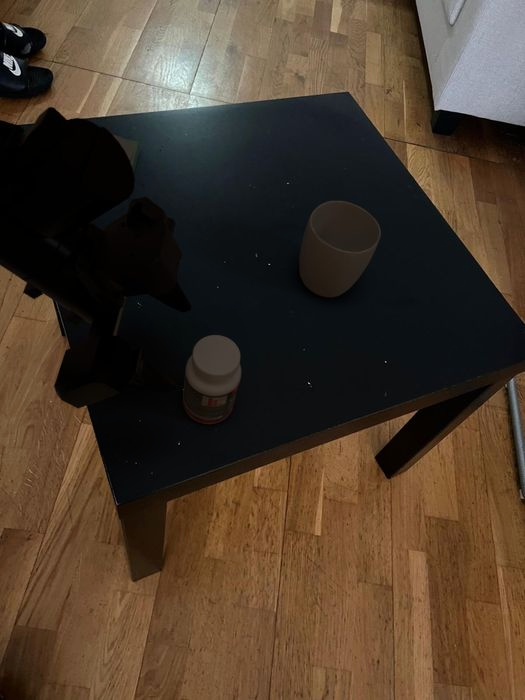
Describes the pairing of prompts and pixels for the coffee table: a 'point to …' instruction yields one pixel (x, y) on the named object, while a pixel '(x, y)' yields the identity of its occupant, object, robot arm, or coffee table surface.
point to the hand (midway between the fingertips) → (181, 347)
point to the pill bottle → (212, 379)
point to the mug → (337, 247)
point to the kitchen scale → (130, 149)
